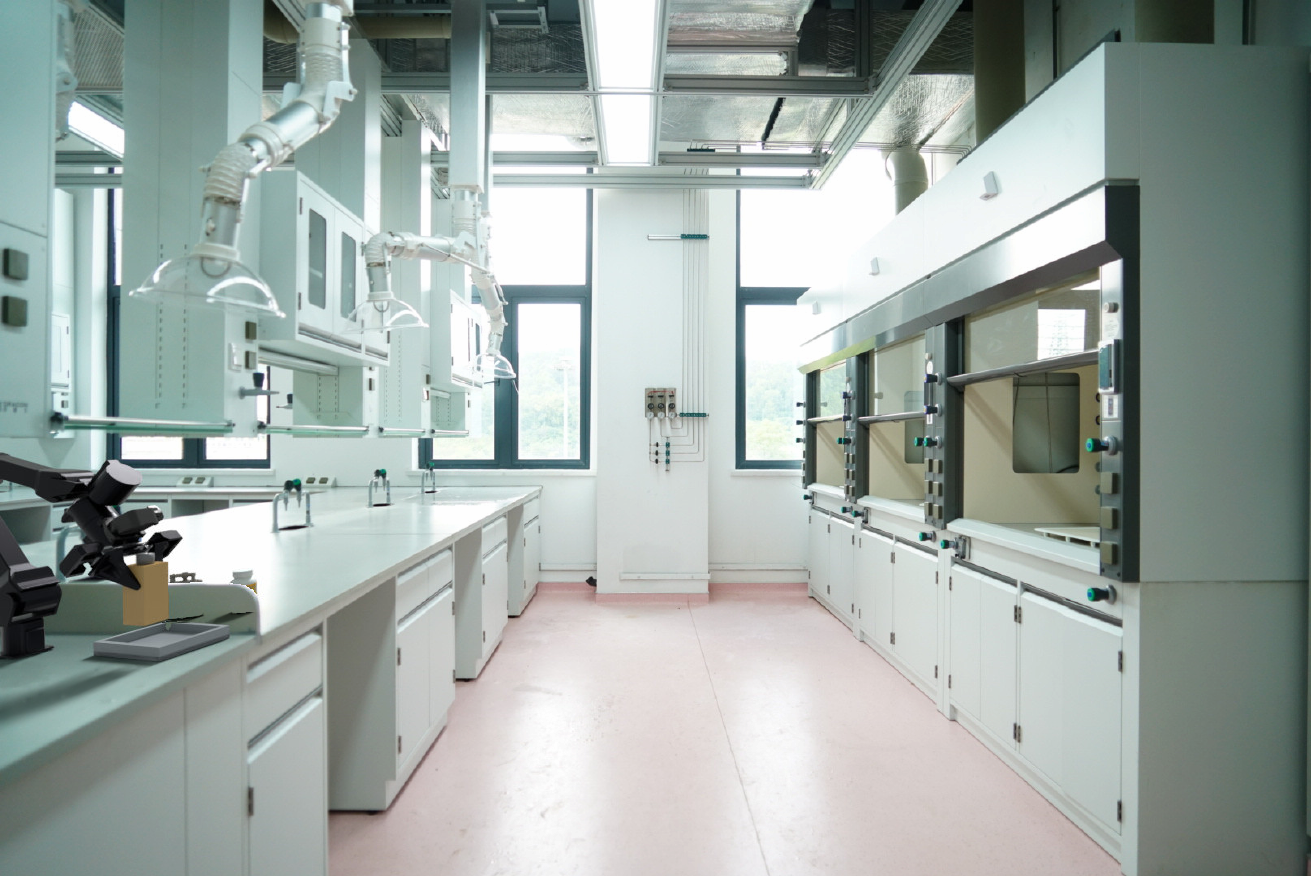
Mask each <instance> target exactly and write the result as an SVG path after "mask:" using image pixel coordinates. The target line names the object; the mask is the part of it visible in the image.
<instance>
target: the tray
mask: <svg viewBox="0 0 1311 876" xmlns="http://www.w3.org/2000/svg"><path fill="white" fill-rule="evenodd" d="M165 626H166V623H162V622H158V623H154V624H150V625H147V626H143V627H141V628H137V629H134V630H131V631H127V632H124V633H120V634H116V635H114V636H110V637H106V638H103V639H99V640H95V641H93V646H92V647H93V656H95V657H97V656H98V657H107V658H118V659H129V660H140V661H151V662H163V661H165V660H168V659H172V658H175V657H178V656H180V655H184V654H187V653H189V652H192V651H195V650H198V649H200V648H204V647H208V646H209V645H212V644H216V643H219V642H222V641H224V640H227V639H230V638H231V637H230V636H231V635H230V625H229V624H215V623H205V622H204V623H203V622H201V623H200V622H190V623H171V627H170V628H169V630H167V629H166V627H165Z"/></svg>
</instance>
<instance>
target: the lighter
mask: <svg viewBox="0 0 1311 876" xmlns="http://www.w3.org/2000/svg"><path fill="white" fill-rule="evenodd" d="M196 573H197V572H189V571H184V572H181V573H176V574H175V573H172V574H169V581H168V583H190V582H203V579H202V578H201V579H197V578H196V575H197V574H196ZM189 577H191V578H190V579H188V578H189ZM176 578H181V579H182V580H176Z"/></svg>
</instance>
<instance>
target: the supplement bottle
mask: <svg viewBox="0 0 1311 876" xmlns="http://www.w3.org/2000/svg"><path fill="white" fill-rule="evenodd" d="M253 575H254V569H253V568H241V569H236V570H233V571H232V577H233V579H232V580H231V581H230V582H229V584H230V583H233V584H241V585H246V586H247V587H249V588H250V589H253V590H254V592H255V593H256V594H257V595H258V581H257V578H255V577H254V576H253Z"/></svg>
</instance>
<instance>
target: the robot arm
mask: <svg viewBox="0 0 1311 876" xmlns="http://www.w3.org/2000/svg"><path fill="white" fill-rule="evenodd" d="M143 479H144V477H143V475H142V473H141V472H140V471H139V470H137V469H135V468H133V467H131V466H129V465H127V464H123V463H121V462H120V461H119V460H118V459H106V460H105V461H104V462H103V464H101V467H100V468H99V470H98V471H97V472H96V473H95V472H93V471H92V470H88V469H77V468H53V467H50V466H47V465H43V464H40V463H36V462H32V461H29V460H27V459H22V458H20V457H19V458H18V457H16V456H13V455H11V454H9V453H5V452H4V451H3V452H1V451H0V485H1V484H3V483H4V481H7V482H9V483H12V484H17V485H20V486H23V487H26V488H29V489H32V490H33V491H34V493H35V494H34V495H36V496H37V497H39V498H40V499H42V500H44V501H47V502H48V503H51V504H58V503H71V502H72V503H71V505H70V506H69V507H66V508H64V509H63V514H62V515H61V518H60V519H61V520H60V522H61V524H68V523H69V524H71V523H76V525H77V526H78V527H79V528H80V530H81V531H82V532H83V533H84V535H85V536H84V537H83V539H82V540H81V541H82V542H83V543H80V544H79V543H78V544H74V545H73V546H72V547H71V549H70V550H69V551H68V552H67V554H65V556H64V558H63V559H62V560H61V561H60V562H59V565H58V570H59V571H60V573H61V574H62V575H63V576H64V577H65V578H66V579H68V578H74V577H78V576H82V575H84V573H85V572H86V570H87V567H86V566H85V564H88V565H89V567H90V568H91V569H90V571H88V573H87V575H88V577H89V578H90V577H96V578H99V579H103V580H106V581H109V582H111V583H114V584H118V585H120V586H122V587H123V586H125V587H128V588H130V589H133V590H136V591H137V590H139V589H140V588H141V585H140V583H139V581H138V579H137V578H136V577H135V575H134V574H133V573H132V571H131V570H130V569H129V567H128V566H127V565H128V564H127V563H126V562H125V558H127V557H132V556H136V555H137V554H141V553H155V561H159V562H164V559H165V558H167V557H168V556H170V554H171V553H172V552H173V550H174V549H176V548H177V546H178V545H179V544H180V543H181V541H182V540H183V539H184V538H183V536H182V535H181V534H180V533H179V532H178V530H176V529H169V530H163V531H162V530H161V531H155V532H153V534H152V535H151V536H150V538H149V539H148V540H147V541H145V540H144V541H143V540H142V541H141V540H140V539H141V538H144V537H145V536H146V534H147V531H146V530H148V529H150V528H151V527H153V526H157V525H159V523H160V522H161V521H163V520H164V518H165V515H164V513H163V511H162V510H161V508H159V507H158V506H157V505H156V504H155V505H147V506H146V507H144V508H137V509H136V508H135V509H131V510H127V511H126V512H123V513H122V514H119V513H118V511H117V510H116V509H115V508H114V507H113V506H115V507H116V506H117V507H118V506H122V505H123V504H124V503H125V502H126V501H127V499H129V498H130V496H131V495H132V494H133V493H134V492H135V490H136V489H138V487H139V486H140V484H141V483H142V482H143ZM60 583H61V580H59V579H58V578H57V577H56V575H55V574H54V571H53V569H52V567H50V566H49V565H43V566H39V567H37V566H35V565H33V564H32V563H31V562H30V561H29V558H27V556H26V555H25V553H24V551H23V550H22V548H21V547H20V545H19V543H18V541H17V540H16V538H15V537H14V535H13V533H12V532H11V530H10V528H9V527H8V526H7V524H6V523H5V520H4V519H3V518H2V516H1V515H0V659H6V658H8V659H9V660H17V659H20V658H24V657H28V656H30V655H35V654H38V653H43V652H45V651H49V650H53V649H55V645H53V644H52V645H50V644H46V628H45V618H46V617H50V616H55V615H57V612H58V610H59V607H60V603H61V600H62V596H63V591H62V588H61V587H62V586H61V585H60ZM8 659H7V660H8Z"/></svg>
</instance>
